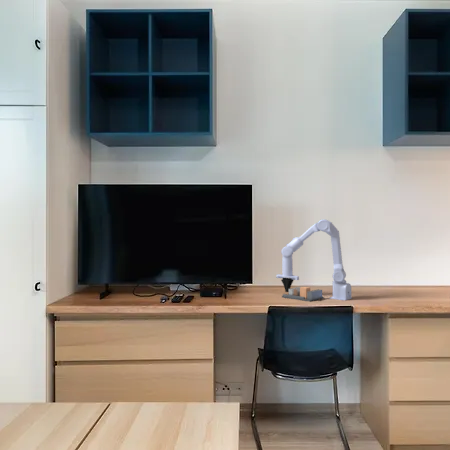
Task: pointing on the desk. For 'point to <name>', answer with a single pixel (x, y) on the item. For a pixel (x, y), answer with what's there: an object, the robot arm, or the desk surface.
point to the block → (304, 291)
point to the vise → (311, 296)
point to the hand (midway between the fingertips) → (287, 291)
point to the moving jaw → (294, 291)
